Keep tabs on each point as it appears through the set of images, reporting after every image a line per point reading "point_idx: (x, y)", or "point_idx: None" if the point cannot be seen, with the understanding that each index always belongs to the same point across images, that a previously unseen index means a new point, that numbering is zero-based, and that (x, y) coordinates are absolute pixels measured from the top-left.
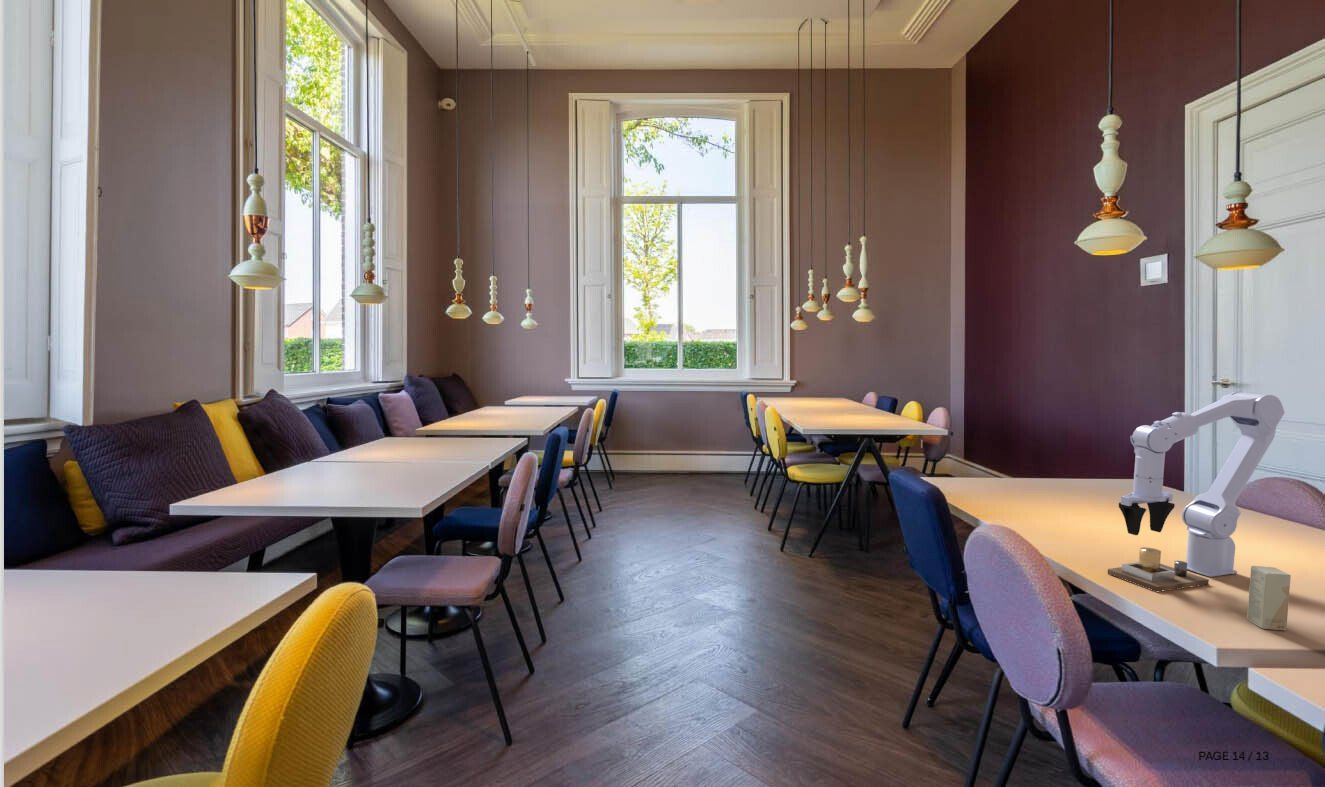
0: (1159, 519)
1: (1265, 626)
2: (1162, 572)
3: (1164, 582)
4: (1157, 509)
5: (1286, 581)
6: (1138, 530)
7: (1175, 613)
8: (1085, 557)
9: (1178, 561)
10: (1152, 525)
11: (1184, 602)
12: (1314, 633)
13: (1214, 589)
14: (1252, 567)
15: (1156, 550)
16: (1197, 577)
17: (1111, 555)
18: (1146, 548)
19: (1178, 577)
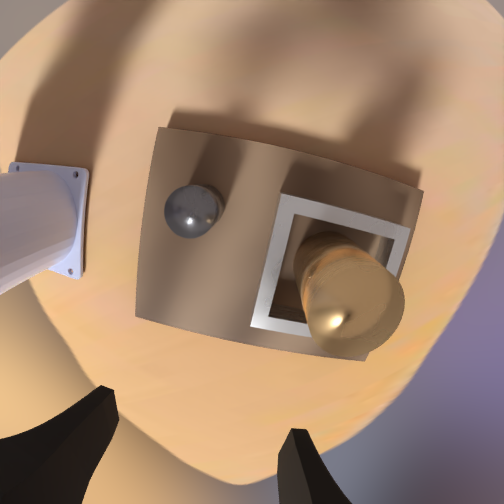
0: (78, 445)
1: None
2: (350, 217)
3: (359, 195)
4: (59, 499)
5: None
6: (305, 448)
7: (499, 110)
8: (253, 433)
9: (185, 225)
10: (107, 434)
11: (427, 107)
12: None
13: (201, 95)
14: None
15: (338, 294)
16: (171, 157)
17: (167, 409)
18: (340, 338)
19: (242, 193)
